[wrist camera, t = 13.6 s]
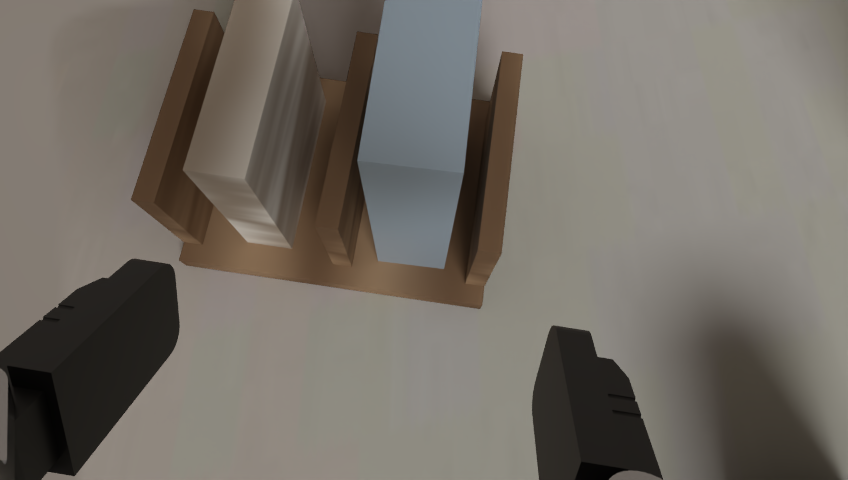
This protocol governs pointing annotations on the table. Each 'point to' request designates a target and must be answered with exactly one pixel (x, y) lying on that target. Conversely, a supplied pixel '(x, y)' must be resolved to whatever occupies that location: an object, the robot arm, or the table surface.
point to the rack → (305, 162)
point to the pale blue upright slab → (418, 126)
